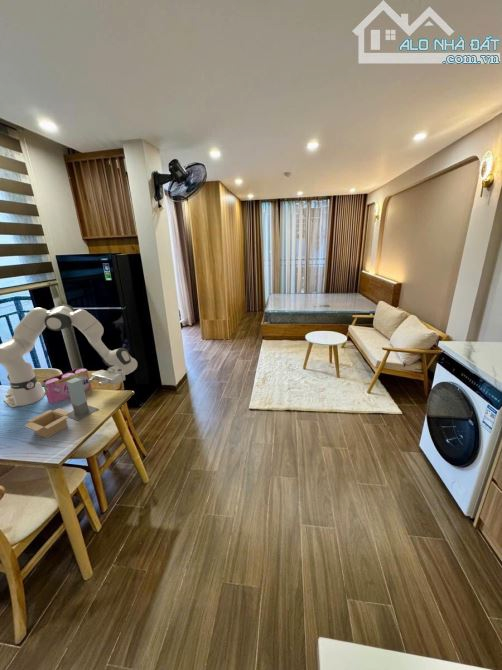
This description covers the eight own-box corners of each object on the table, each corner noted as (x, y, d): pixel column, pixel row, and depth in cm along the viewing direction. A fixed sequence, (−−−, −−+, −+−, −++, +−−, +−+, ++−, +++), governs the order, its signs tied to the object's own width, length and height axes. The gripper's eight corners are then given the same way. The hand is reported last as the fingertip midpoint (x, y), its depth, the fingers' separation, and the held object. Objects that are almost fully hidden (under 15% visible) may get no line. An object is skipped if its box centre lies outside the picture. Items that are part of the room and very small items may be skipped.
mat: (64, 416, 142) (63, 415, 142) (84, 405, 152) (84, 404, 152) (78, 421, 137) (78, 420, 137) (98, 409, 148) (98, 408, 148)
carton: (24, 435, 127) (20, 424, 125) (58, 417, 141) (55, 406, 139) (44, 444, 121) (40, 432, 119) (77, 424, 135) (74, 413, 133)
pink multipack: (87, 384, 177) (83, 366, 173) (93, 387, 173) (89, 369, 169) (47, 400, 158) (41, 380, 154) (52, 404, 154) (47, 384, 150)
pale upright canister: (74, 413, 143) (66, 381, 137) (82, 408, 148) (75, 377, 142) (80, 415, 142) (72, 383, 135) (88, 410, 146) (81, 379, 140)
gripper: (102, 366, 165) (81, 375, 153) (125, 371, 157) (105, 381, 145) (104, 374, 167) (83, 384, 155) (127, 380, 159) (107, 390, 147)
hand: (94, 382), depth 150 cm, fingers open, 8 cm apart
